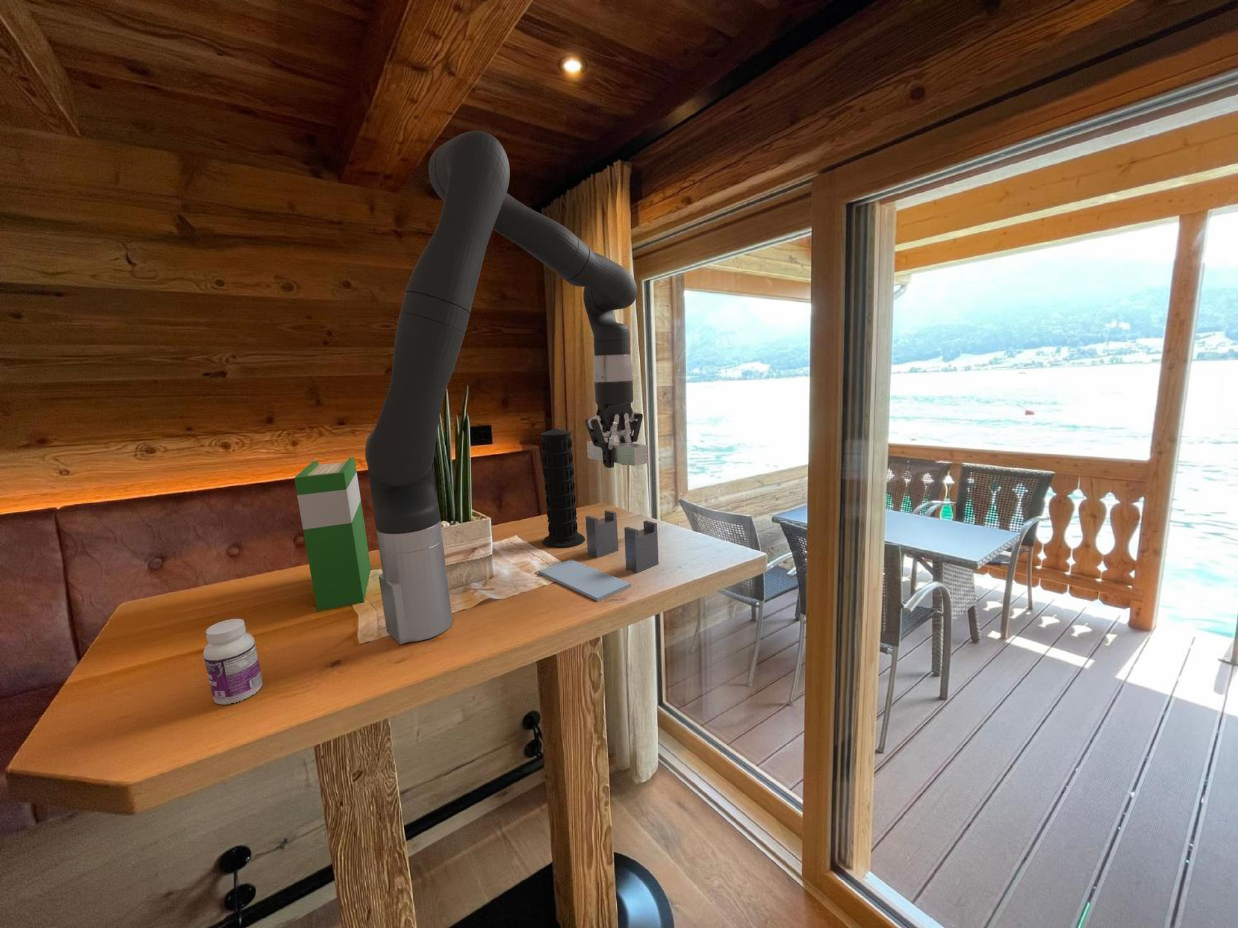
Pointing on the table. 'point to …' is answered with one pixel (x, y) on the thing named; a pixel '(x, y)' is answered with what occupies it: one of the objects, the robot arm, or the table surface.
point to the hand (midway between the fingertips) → (616, 465)
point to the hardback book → (334, 533)
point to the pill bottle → (231, 662)
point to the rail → (621, 453)
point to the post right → (641, 547)
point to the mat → (585, 579)
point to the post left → (602, 534)
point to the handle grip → (560, 490)
